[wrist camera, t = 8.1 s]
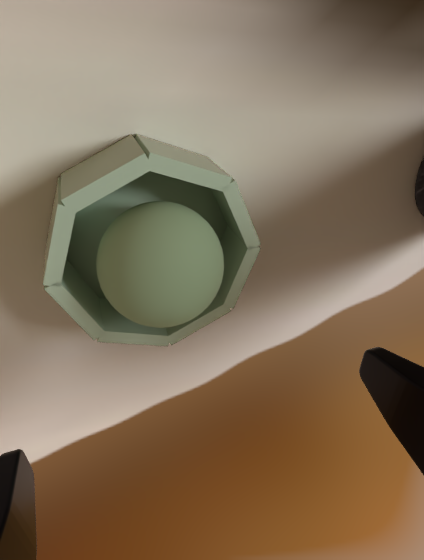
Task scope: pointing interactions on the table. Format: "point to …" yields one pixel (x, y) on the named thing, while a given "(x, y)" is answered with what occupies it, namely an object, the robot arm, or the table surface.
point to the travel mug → (420, 189)
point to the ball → (160, 264)
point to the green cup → (122, 196)
